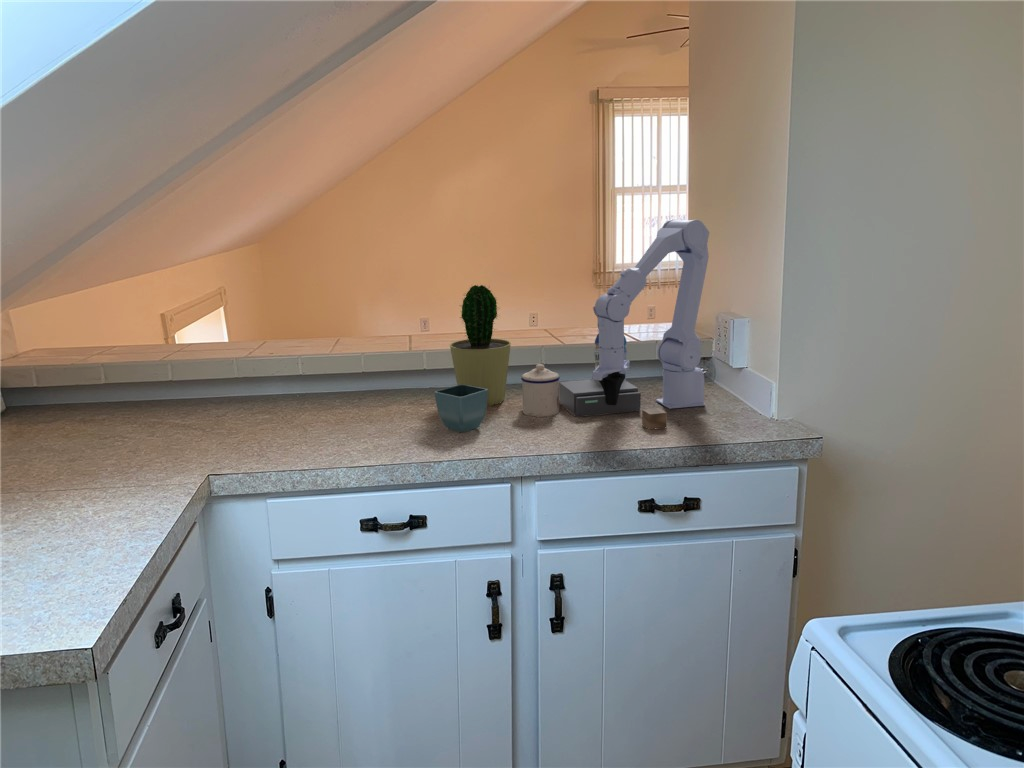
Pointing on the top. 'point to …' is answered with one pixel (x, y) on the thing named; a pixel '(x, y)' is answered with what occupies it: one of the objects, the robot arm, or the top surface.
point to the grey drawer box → (585, 391)
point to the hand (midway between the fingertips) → (612, 404)
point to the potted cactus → (481, 346)
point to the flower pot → (461, 406)
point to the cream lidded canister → (540, 392)
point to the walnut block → (654, 418)
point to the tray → (599, 406)
